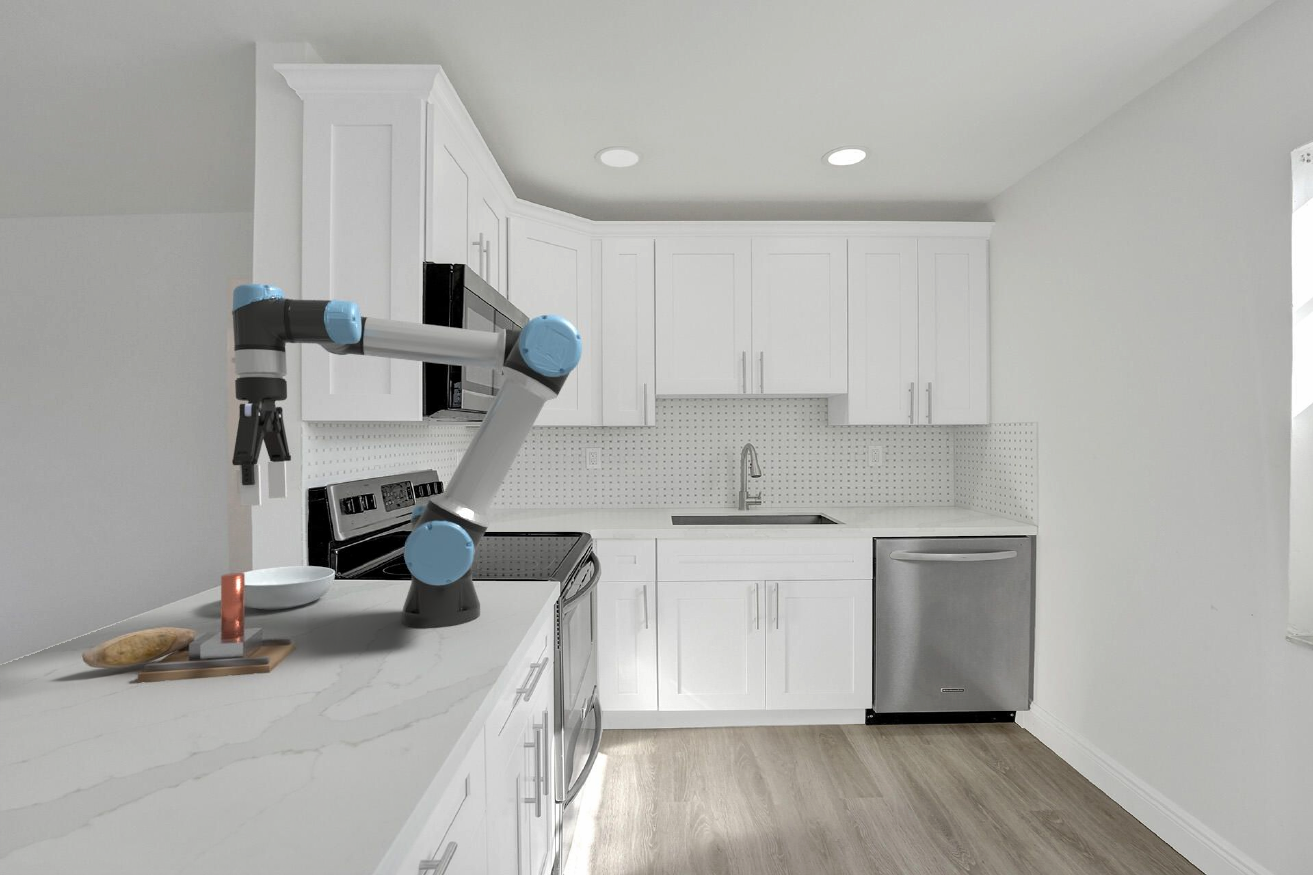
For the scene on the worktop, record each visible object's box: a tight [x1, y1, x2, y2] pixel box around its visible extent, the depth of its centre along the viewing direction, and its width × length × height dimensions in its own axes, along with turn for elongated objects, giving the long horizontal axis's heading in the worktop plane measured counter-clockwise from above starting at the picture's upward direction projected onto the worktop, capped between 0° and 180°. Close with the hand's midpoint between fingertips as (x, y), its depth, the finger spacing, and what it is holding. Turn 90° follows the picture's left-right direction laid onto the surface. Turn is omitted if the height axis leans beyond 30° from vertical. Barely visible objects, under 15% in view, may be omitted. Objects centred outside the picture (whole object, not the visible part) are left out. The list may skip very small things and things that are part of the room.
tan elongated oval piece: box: [81, 626, 197, 669], centre depth 104 cm, size 5×14×4 cm
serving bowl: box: [243, 565, 336, 611], centre depth 143 cm, size 21×21×7 cm
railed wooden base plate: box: [137, 637, 296, 684], centre depth 105 cm, size 18×12×2 cm, turn 102°
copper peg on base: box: [189, 572, 263, 661], centre depth 105 cm, size 8×8×13 cm
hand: (265, 501), depth 110 cm, fingers open, 13 cm apart
